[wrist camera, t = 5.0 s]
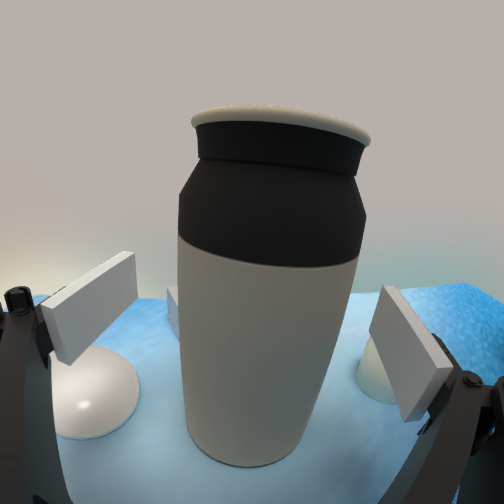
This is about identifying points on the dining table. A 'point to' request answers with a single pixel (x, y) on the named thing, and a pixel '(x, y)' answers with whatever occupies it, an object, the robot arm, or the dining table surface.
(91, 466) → the dining table surface
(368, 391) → the beige rounded cylinder
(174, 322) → the grey cube
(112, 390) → the saucer
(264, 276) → the travel mug
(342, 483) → the dining table surface
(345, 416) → the dining table surface
